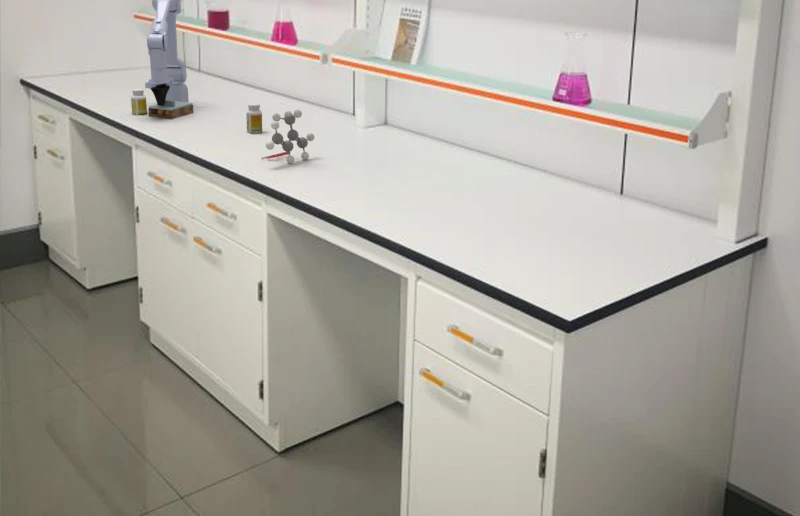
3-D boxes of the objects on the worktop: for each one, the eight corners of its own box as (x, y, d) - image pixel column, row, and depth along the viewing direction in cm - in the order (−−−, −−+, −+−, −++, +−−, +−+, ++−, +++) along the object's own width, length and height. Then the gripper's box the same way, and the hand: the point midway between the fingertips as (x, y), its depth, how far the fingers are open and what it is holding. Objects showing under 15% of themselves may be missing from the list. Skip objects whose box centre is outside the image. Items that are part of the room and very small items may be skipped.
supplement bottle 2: (265, 131, 316) (264, 104, 313) (256, 134, 312) (255, 106, 308) (253, 129, 318) (252, 102, 315) (243, 132, 314) (242, 104, 311)
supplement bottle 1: (149, 114, 337) (147, 88, 334) (144, 117, 332) (142, 91, 329) (135, 114, 338) (133, 88, 334) (130, 116, 333) (128, 90, 329)
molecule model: (293, 159, 290) (284, 111, 287) (328, 155, 280) (318, 105, 277) (248, 171, 275) (237, 120, 272) (283, 167, 265) (272, 114, 262)
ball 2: (168, 115, 333) (168, 108, 332) (174, 116, 332) (174, 108, 331) (164, 117, 330) (163, 109, 329) (170, 117, 329) (170, 110, 328)
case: (171, 112, 343) (170, 102, 342) (193, 114, 340) (193, 104, 338) (149, 118, 331) (148, 108, 329) (171, 121, 327) (171, 110, 326)
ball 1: (160, 114, 334) (159, 107, 333) (166, 115, 333) (166, 108, 332) (155, 116, 331) (155, 108, 331) (162, 116, 331) (161, 109, 330)
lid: (170, 102, 342) (170, 95, 341) (192, 104, 338) (192, 97, 337) (148, 108, 329) (148, 100, 329) (171, 110, 326) (170, 103, 325)
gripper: (161, 64, 331) (163, 101, 336) (137, 69, 318) (139, 107, 323) (177, 66, 329) (179, 103, 334) (153, 71, 316) (156, 109, 321)
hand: (161, 105), depth 328 cm, fingers closed
